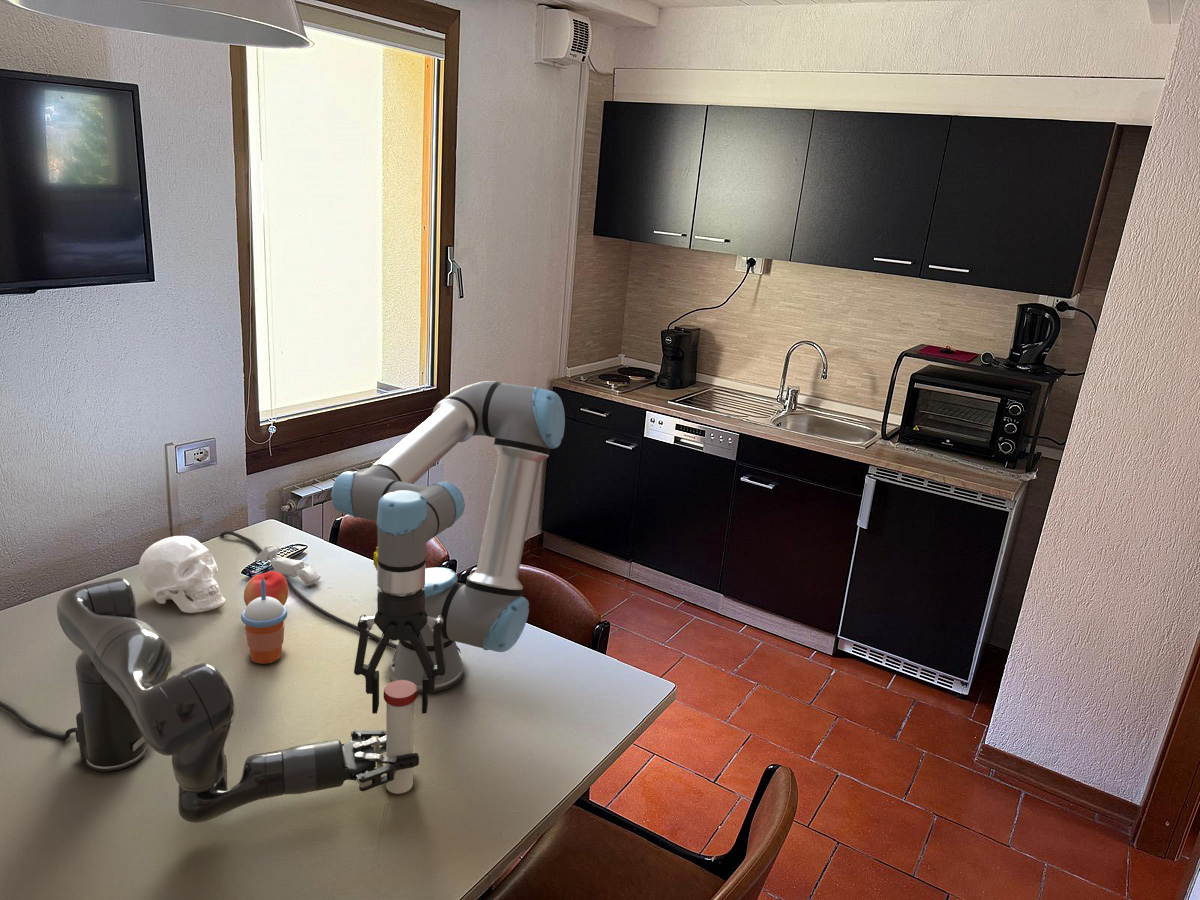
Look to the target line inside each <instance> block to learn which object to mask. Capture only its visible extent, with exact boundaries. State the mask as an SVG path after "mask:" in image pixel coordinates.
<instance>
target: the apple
mask: <svg viewBox="0 0 1200 900" xmlns="http://www.w3.org/2000/svg"><path fill="white" fill-rule="evenodd" d="M284 576H285V575H284ZM284 576H283V575H282V574H281V573H278V572H275V571H268V570H267V571H266V572H264V573H259V574H255V575H254V576H253V577H251V578H250V579H249V580H248V582H247V583H246V585H245V587H244V590H243V601H244V604H245V607H247V605H248V604H249V603H250V602H251V601H253V600H254V599H256V598H259V597H261V580H265V588H266V596H268V597H273V598H275V599H277V600H278V601H279V602H280V603H281V604H282V605H283V606H284V607H285V605H286V603H287V600H288V597H289V587H288V584H287V581H286V579H287V578H286V579H285V577H286V576H285V577H284Z"/></svg>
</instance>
